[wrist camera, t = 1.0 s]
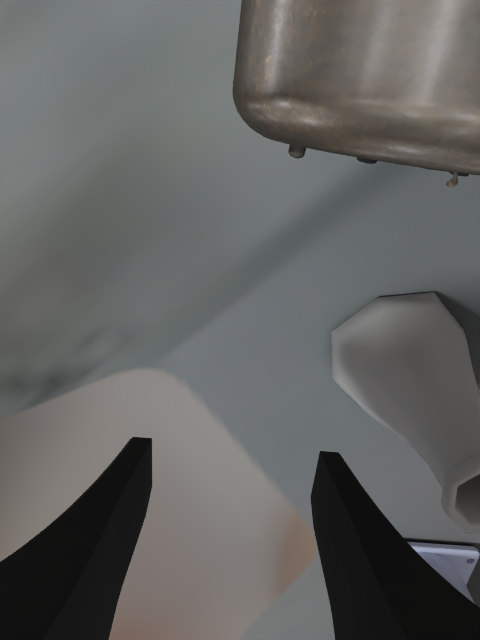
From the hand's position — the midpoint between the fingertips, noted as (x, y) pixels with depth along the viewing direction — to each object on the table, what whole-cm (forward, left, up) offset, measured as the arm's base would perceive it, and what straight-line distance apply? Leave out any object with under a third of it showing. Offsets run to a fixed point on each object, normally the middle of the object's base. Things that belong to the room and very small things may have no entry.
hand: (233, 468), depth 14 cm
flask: (0, -9, -10) cm, 13 cm away
